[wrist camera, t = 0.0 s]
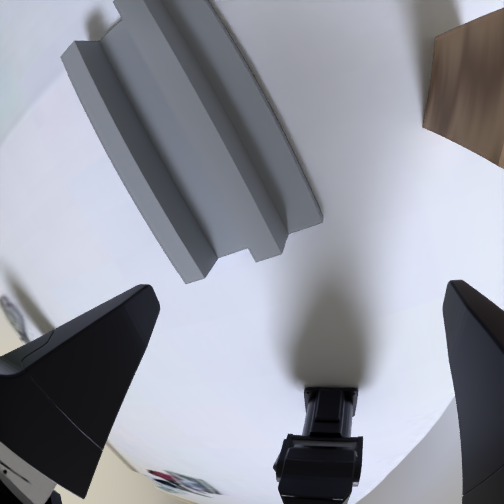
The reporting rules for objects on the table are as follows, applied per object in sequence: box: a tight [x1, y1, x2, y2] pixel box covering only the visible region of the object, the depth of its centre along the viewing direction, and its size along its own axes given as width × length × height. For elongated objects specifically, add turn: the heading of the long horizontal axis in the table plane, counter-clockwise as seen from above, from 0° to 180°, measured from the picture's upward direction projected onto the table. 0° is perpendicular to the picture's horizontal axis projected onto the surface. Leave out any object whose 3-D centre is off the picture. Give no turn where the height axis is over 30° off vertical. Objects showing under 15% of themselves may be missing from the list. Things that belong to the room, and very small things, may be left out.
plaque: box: [423, 8, 504, 168], centre depth 10 cm, size 7×2×11 cm, turn 174°
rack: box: [61, 0, 323, 284], centre depth 20 cm, size 22×14×4 cm, turn 28°
